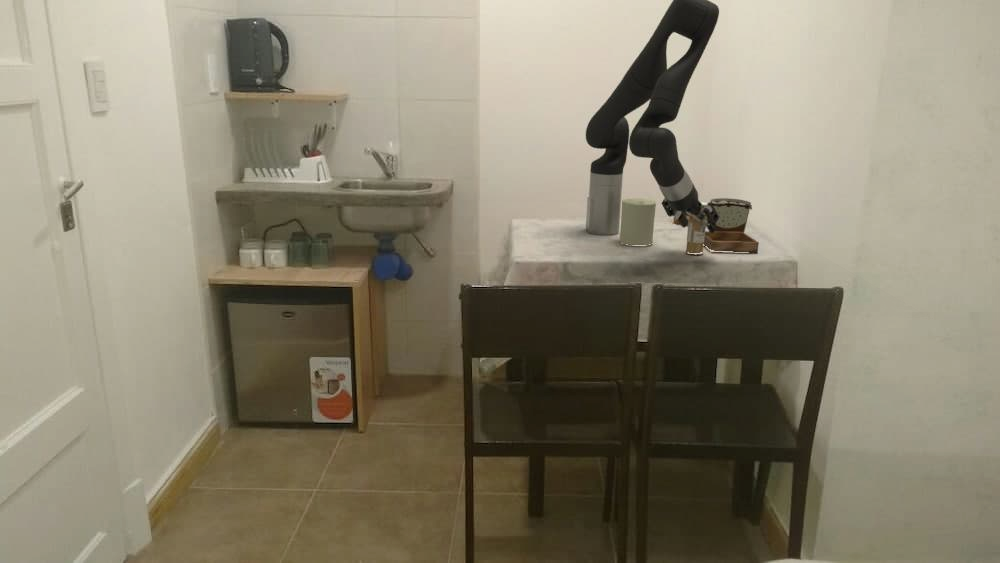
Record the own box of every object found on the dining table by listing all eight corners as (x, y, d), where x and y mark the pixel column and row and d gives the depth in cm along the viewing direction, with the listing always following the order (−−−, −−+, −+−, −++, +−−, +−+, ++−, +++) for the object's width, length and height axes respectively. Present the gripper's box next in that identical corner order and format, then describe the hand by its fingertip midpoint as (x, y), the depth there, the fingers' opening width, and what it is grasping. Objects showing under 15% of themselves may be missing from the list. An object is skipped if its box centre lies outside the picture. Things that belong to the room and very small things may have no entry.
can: (625, 247, 196) (628, 203, 192) (614, 239, 205) (617, 196, 201) (658, 246, 197) (661, 202, 194) (645, 238, 206) (649, 196, 203)
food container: (743, 232, 217) (748, 198, 214) (748, 236, 211) (752, 202, 208) (701, 230, 218) (705, 197, 215) (705, 235, 212) (708, 200, 209)
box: (711, 252, 192) (712, 241, 191) (698, 241, 204) (699, 231, 203) (757, 253, 192) (758, 242, 191) (741, 242, 204) (742, 231, 203)
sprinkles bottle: (700, 256, 188) (705, 205, 184) (682, 254, 190) (687, 203, 186) (705, 253, 192) (710, 202, 188) (687, 250, 194) (692, 200, 190)
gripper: (709, 180, 175) (730, 221, 186) (660, 172, 185) (683, 211, 196) (694, 204, 173) (716, 244, 184) (646, 195, 183) (669, 234, 194)
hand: (699, 227), depth 190 cm, fingers open, 8 cm apart
